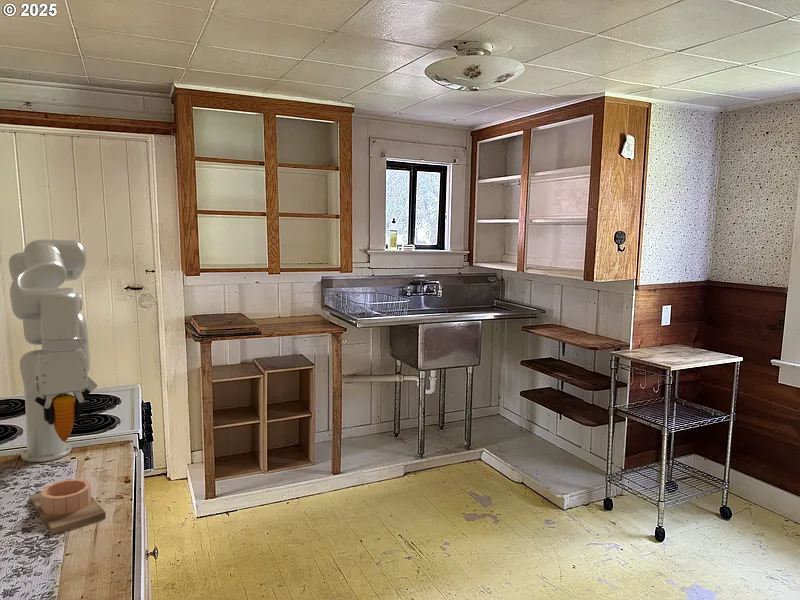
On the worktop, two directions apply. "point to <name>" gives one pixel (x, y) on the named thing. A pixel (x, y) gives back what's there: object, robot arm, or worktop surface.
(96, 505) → the walnut board
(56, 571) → the worktop surface
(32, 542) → the worktop surface
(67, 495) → the terracotta cup
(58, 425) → the carrot
